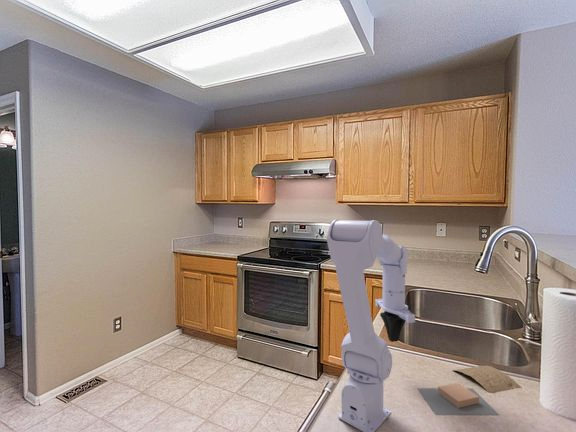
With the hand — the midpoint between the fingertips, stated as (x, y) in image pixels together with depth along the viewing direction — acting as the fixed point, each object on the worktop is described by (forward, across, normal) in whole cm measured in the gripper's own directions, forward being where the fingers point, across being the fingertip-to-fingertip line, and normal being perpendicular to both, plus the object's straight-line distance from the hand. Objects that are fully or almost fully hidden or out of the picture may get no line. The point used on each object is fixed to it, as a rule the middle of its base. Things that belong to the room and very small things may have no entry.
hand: (393, 340), depth 82 cm
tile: (+9, -10, -9) cm, 16 cm away
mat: (+10, -13, -8) cm, 18 cm away
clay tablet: (+11, -8, -23) cm, 27 cm away
